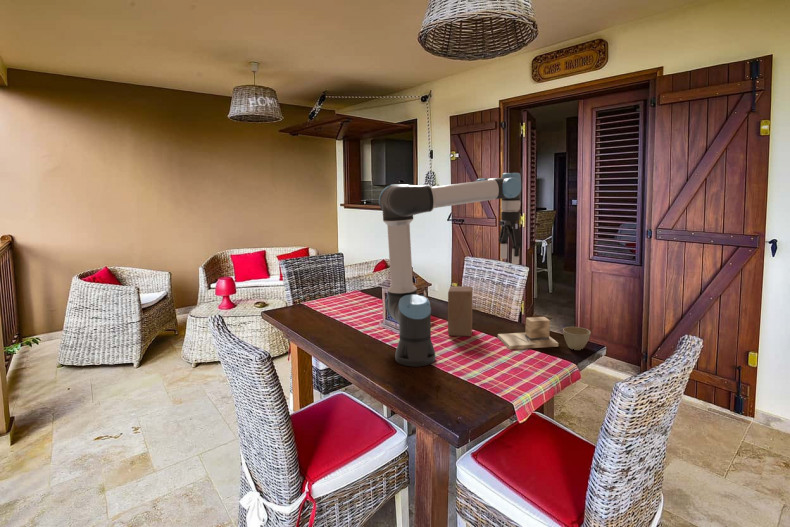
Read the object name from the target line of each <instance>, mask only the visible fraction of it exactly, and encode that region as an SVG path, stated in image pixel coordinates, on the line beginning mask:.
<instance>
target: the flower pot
mask: <svg viewBox="0 0 790 527" xmlns="http://www.w3.org/2000/svg"><path fill="white" fill-rule="evenodd" d="M562 332H563V338H564V341H565V342H566V345H567V347H568V348H569V349H571V350H573V349H574V350H573V351H582V350H583V349H584V348H585V347H586V345H587V343H588V342H589V340H590V336H591V333H592V332H591V330H589V329H588V328H584V327H580V326H579V327H578V326H566V327H564V328H563V329H562ZM581 349H582V350H581Z"/></svg>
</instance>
